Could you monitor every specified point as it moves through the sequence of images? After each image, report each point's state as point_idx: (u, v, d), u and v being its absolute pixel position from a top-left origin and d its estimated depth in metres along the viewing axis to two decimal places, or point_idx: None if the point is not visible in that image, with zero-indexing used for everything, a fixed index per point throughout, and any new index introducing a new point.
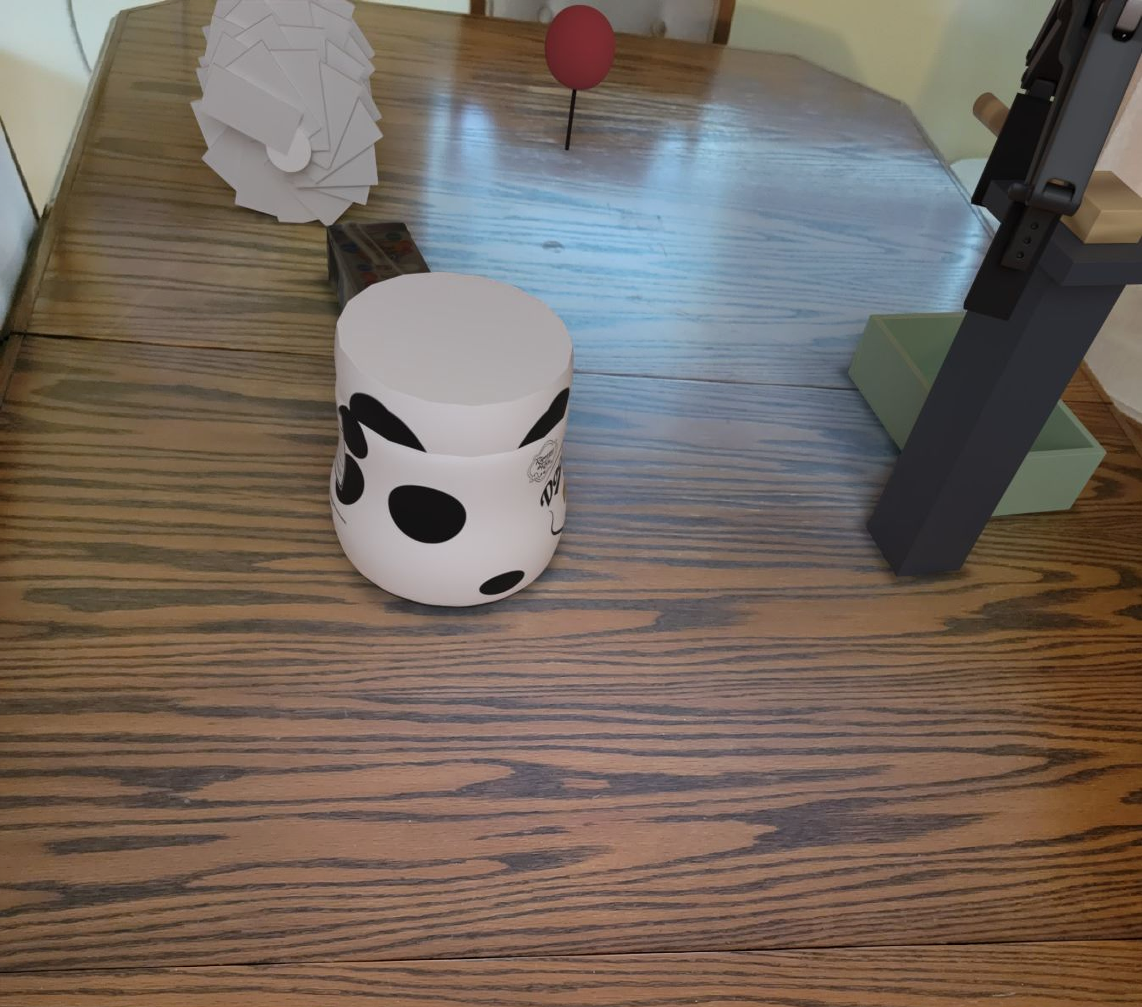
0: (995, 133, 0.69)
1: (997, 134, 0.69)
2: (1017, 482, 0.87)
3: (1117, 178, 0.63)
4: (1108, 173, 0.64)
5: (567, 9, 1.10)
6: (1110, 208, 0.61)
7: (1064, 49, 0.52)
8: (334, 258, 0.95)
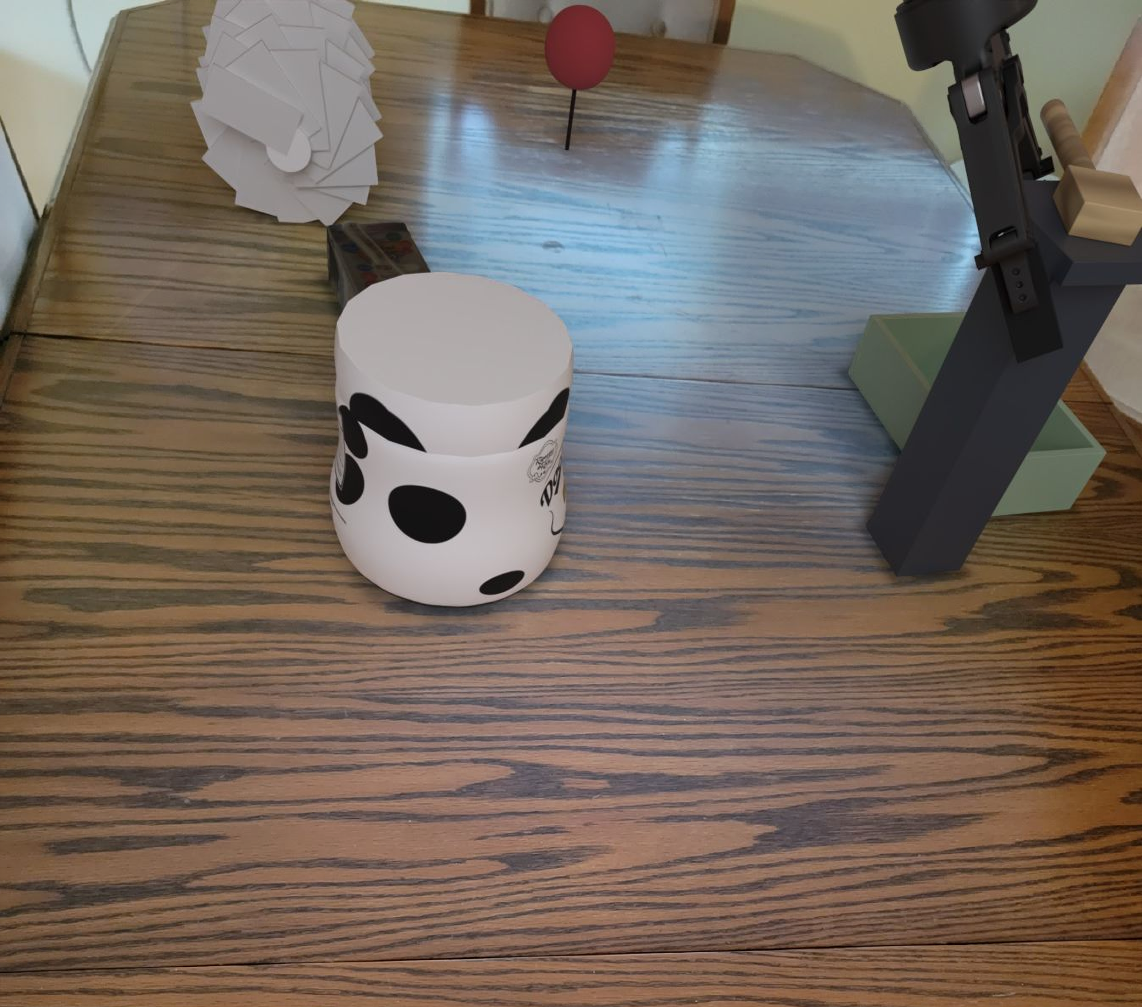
0: (1048, 136, 0.70)
1: (1049, 137, 0.70)
2: (1017, 482, 0.87)
3: (1130, 182, 0.63)
4: (1123, 176, 0.64)
5: (567, 9, 1.10)
6: (1096, 202, 0.61)
7: None
8: (334, 258, 0.95)
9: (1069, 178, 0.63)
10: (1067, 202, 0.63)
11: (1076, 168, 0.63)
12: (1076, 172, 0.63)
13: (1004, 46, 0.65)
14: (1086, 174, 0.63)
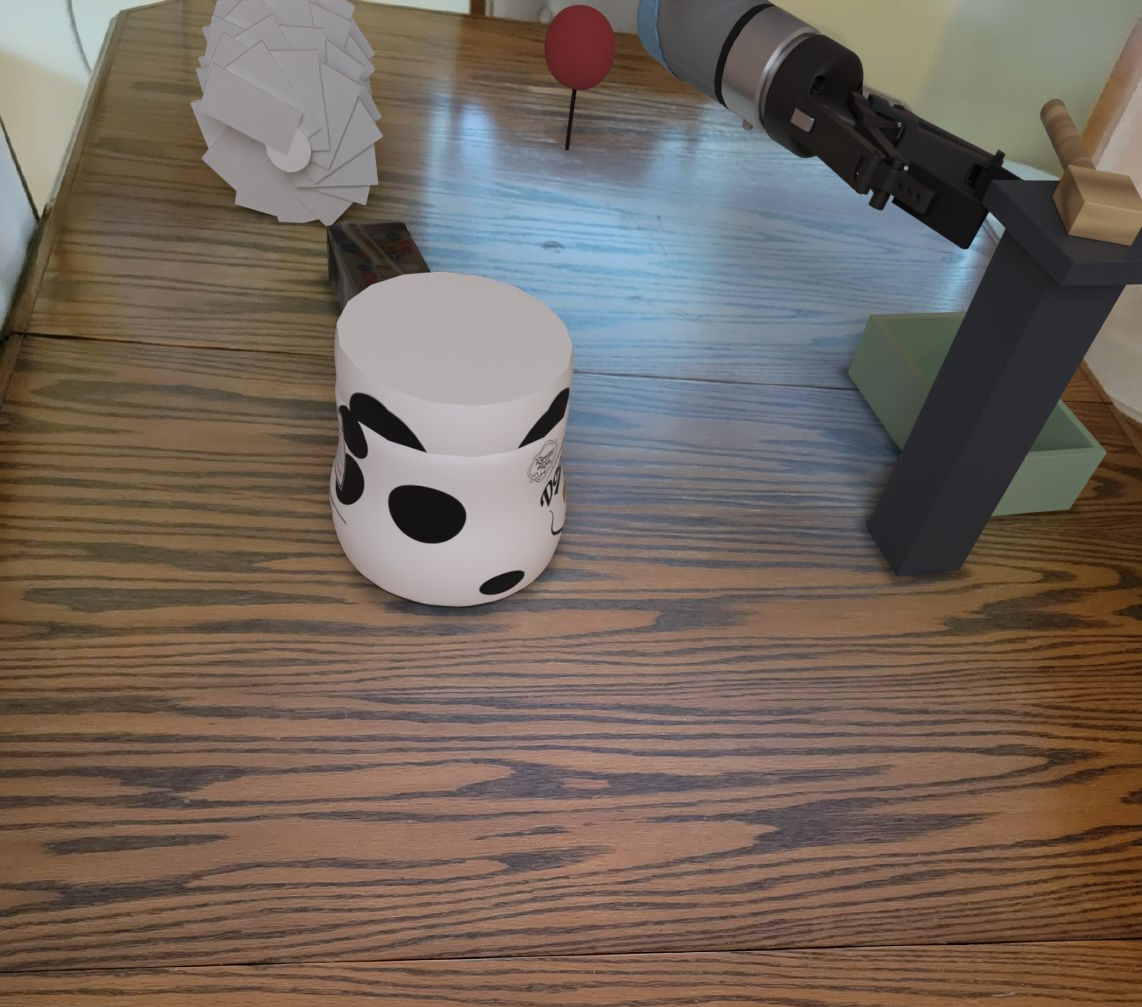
0: (1048, 136, 0.70)
1: (1049, 137, 0.70)
2: (1017, 482, 0.87)
3: (1130, 182, 0.63)
4: (1123, 176, 0.64)
5: (567, 9, 1.10)
6: (1096, 202, 0.61)
7: None
8: (334, 258, 0.95)
9: (1069, 178, 0.63)
10: (1067, 202, 0.63)
11: (1076, 168, 0.63)
12: (1076, 172, 0.63)
13: None
14: (1086, 174, 0.63)
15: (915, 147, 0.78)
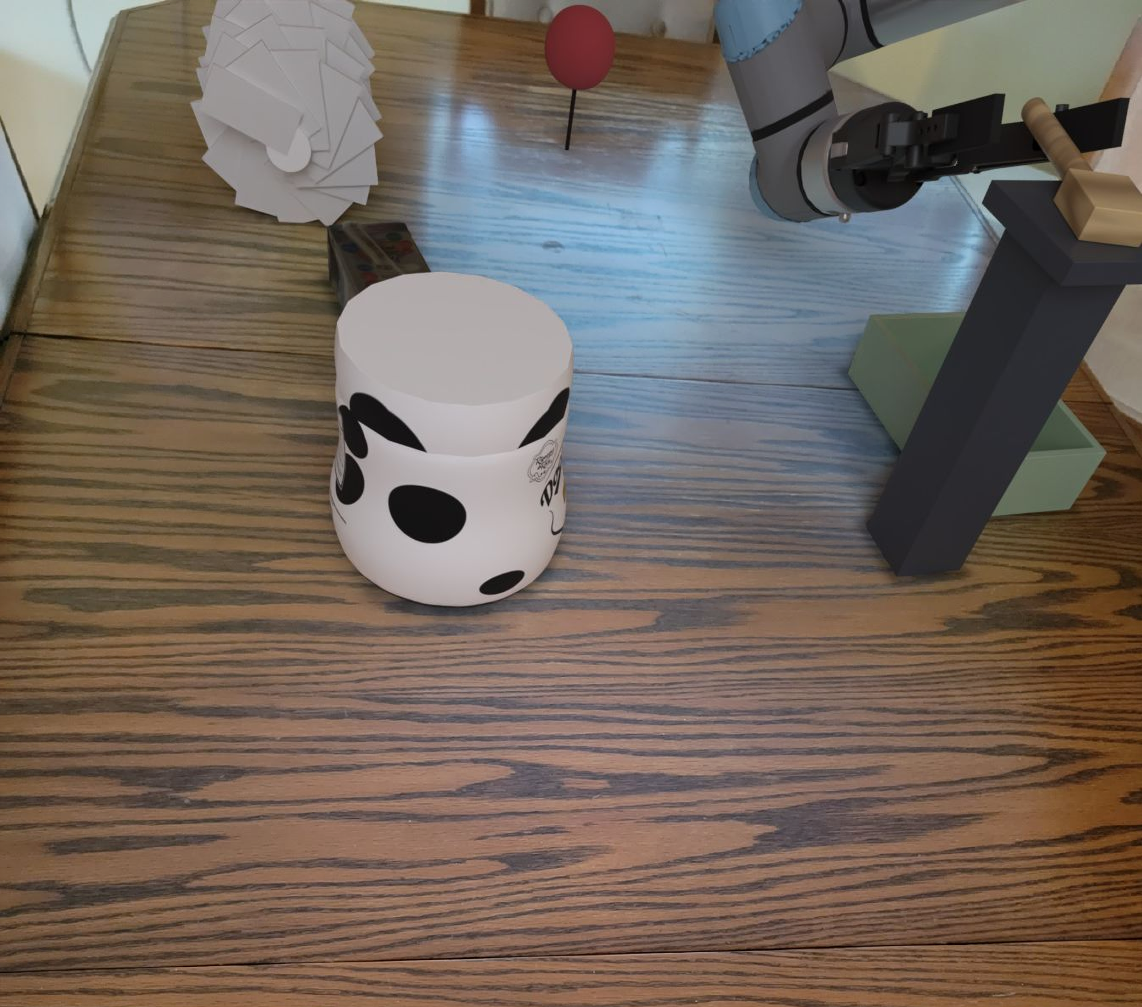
0: (1034, 136, 0.70)
1: (1036, 137, 0.70)
2: (1017, 482, 0.87)
3: (1131, 183, 0.63)
4: (1123, 177, 0.64)
5: (567, 9, 1.10)
6: (1105, 206, 0.61)
7: (897, 172, 0.76)
8: (335, 258, 0.95)
9: (1072, 182, 0.63)
10: (1073, 206, 0.63)
11: (1077, 171, 0.63)
12: (1079, 176, 0.63)
13: None
14: (1089, 177, 0.63)
15: None
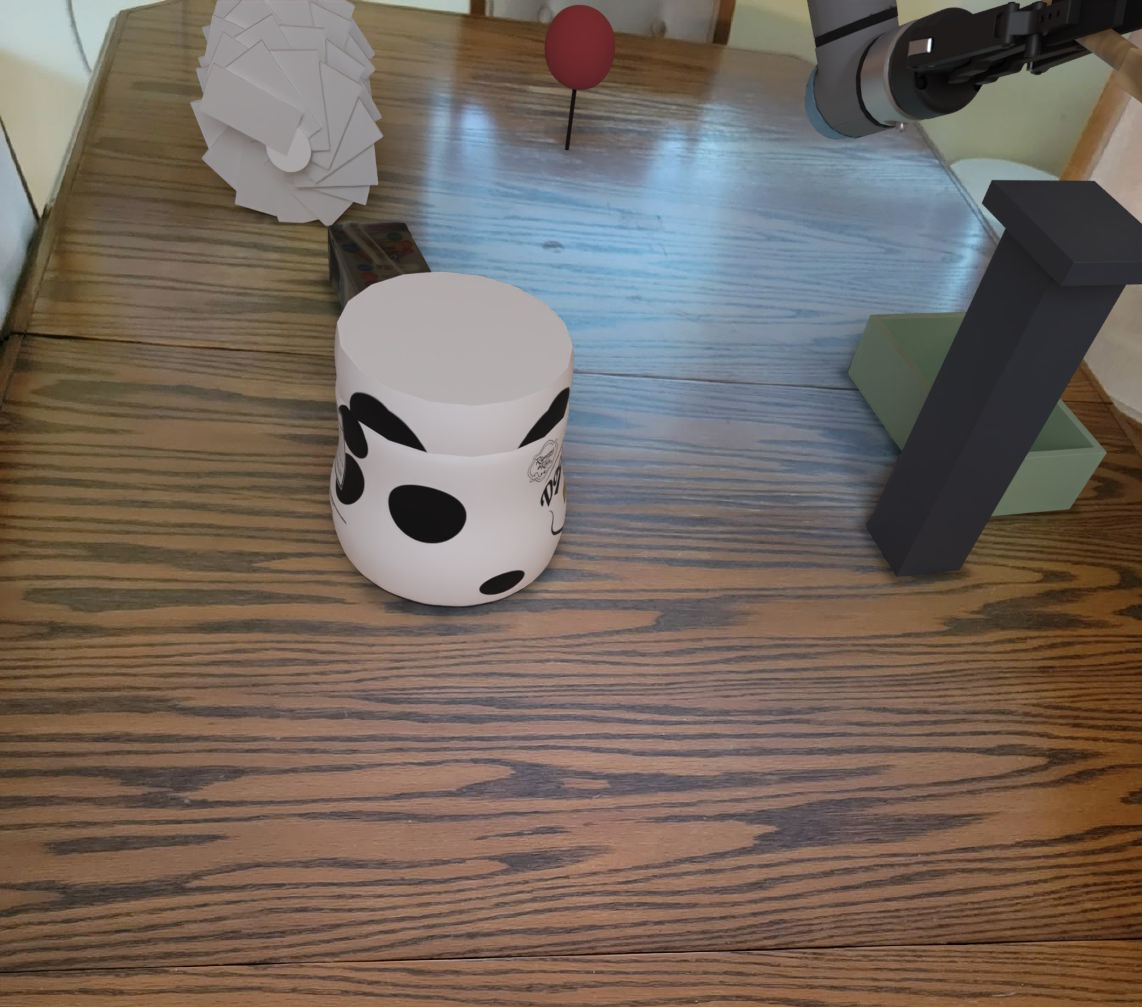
0: None
1: None
2: (1017, 482, 0.87)
3: None
4: None
5: (567, 9, 1.10)
6: None
7: (977, 69, 0.80)
8: (335, 258, 0.95)
9: (1137, 60, 0.66)
10: None
11: (1139, 50, 0.67)
12: None
13: None
14: None
15: None
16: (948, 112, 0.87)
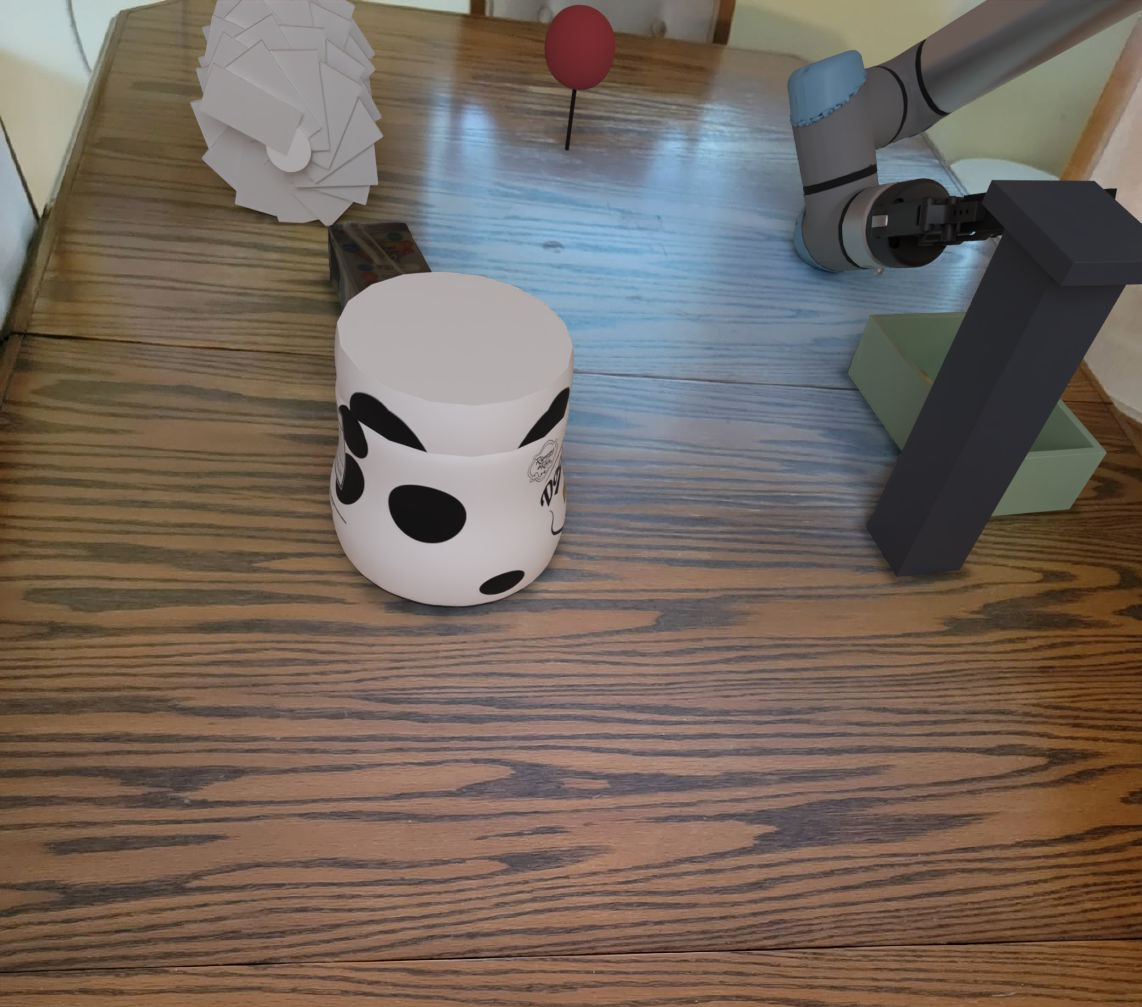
0: None
1: None
2: (1017, 482, 0.87)
3: None
4: None
5: (567, 9, 1.10)
6: None
7: (929, 240, 0.91)
8: (335, 258, 0.95)
9: None
10: None
11: None
12: None
13: None
14: None
15: None
16: (919, 266, 0.98)
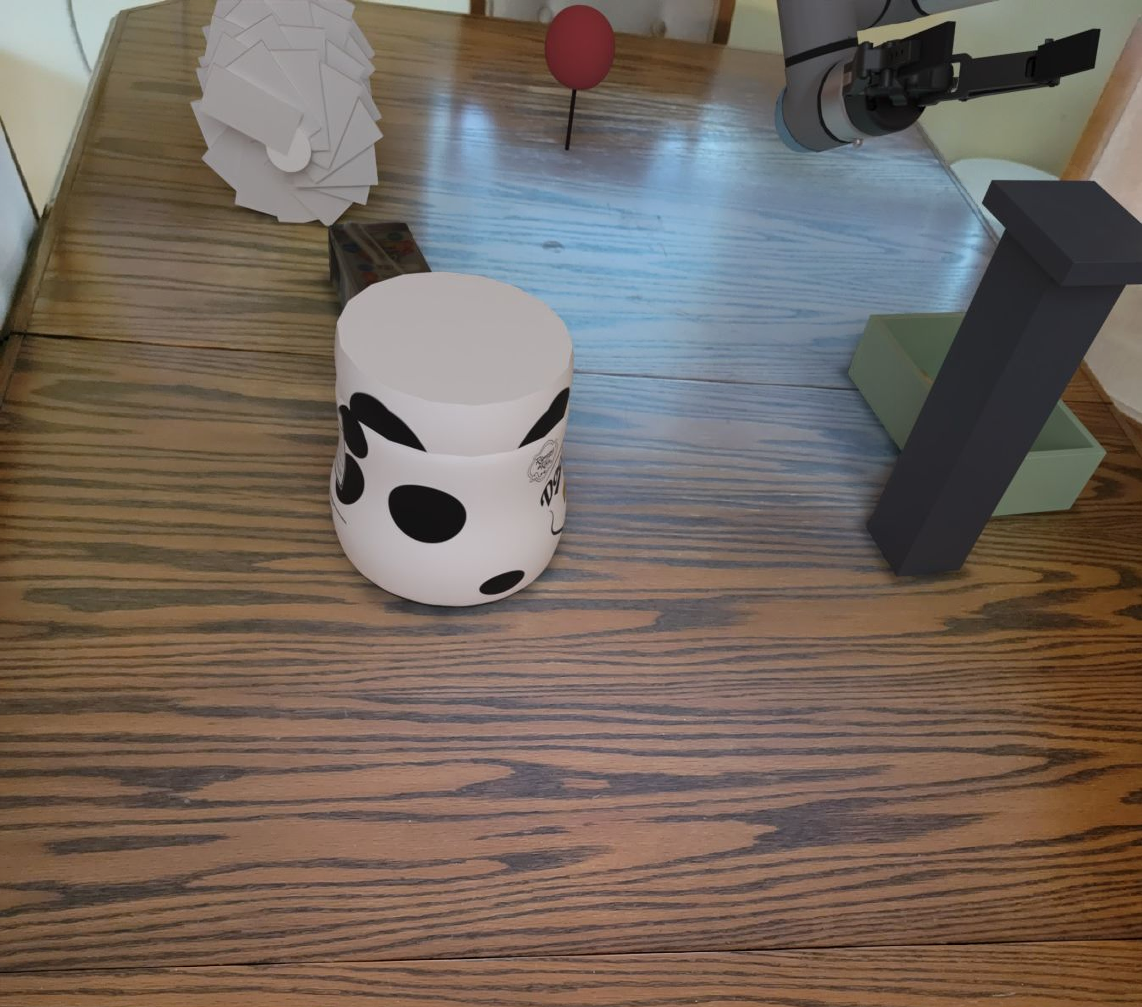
0: None
1: None
2: (1017, 482, 0.87)
3: None
4: None
5: (567, 9, 1.10)
6: None
7: (893, 95, 0.92)
8: (335, 258, 0.95)
9: None
10: None
11: None
12: None
13: None
14: None
15: (973, 71, 0.92)
16: (896, 130, 0.99)
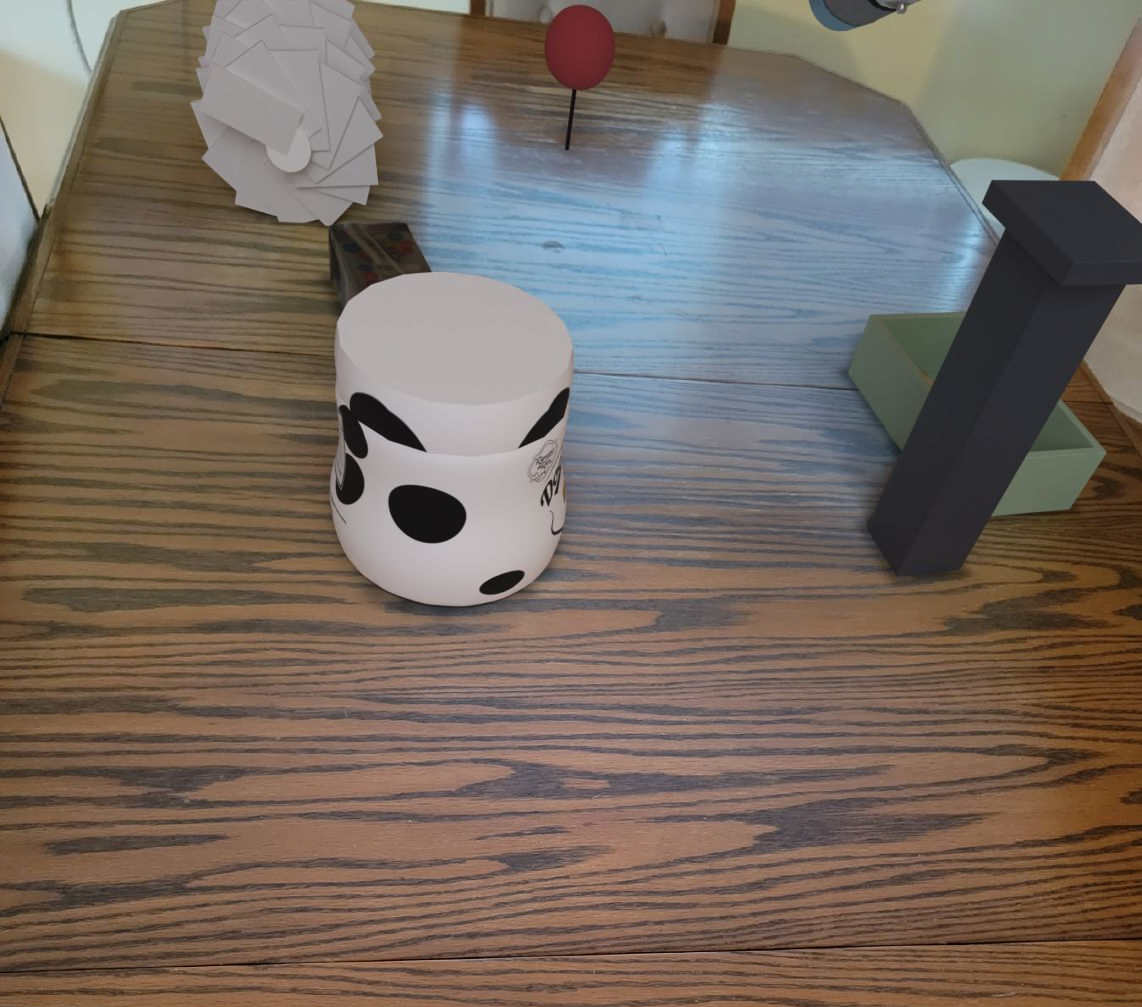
0: None
1: None
2: (1017, 482, 0.87)
3: None
4: None
5: (567, 9, 1.10)
6: None
7: None
8: (336, 258, 0.95)
9: None
10: None
11: None
12: None
13: None
14: None
15: None
16: None
